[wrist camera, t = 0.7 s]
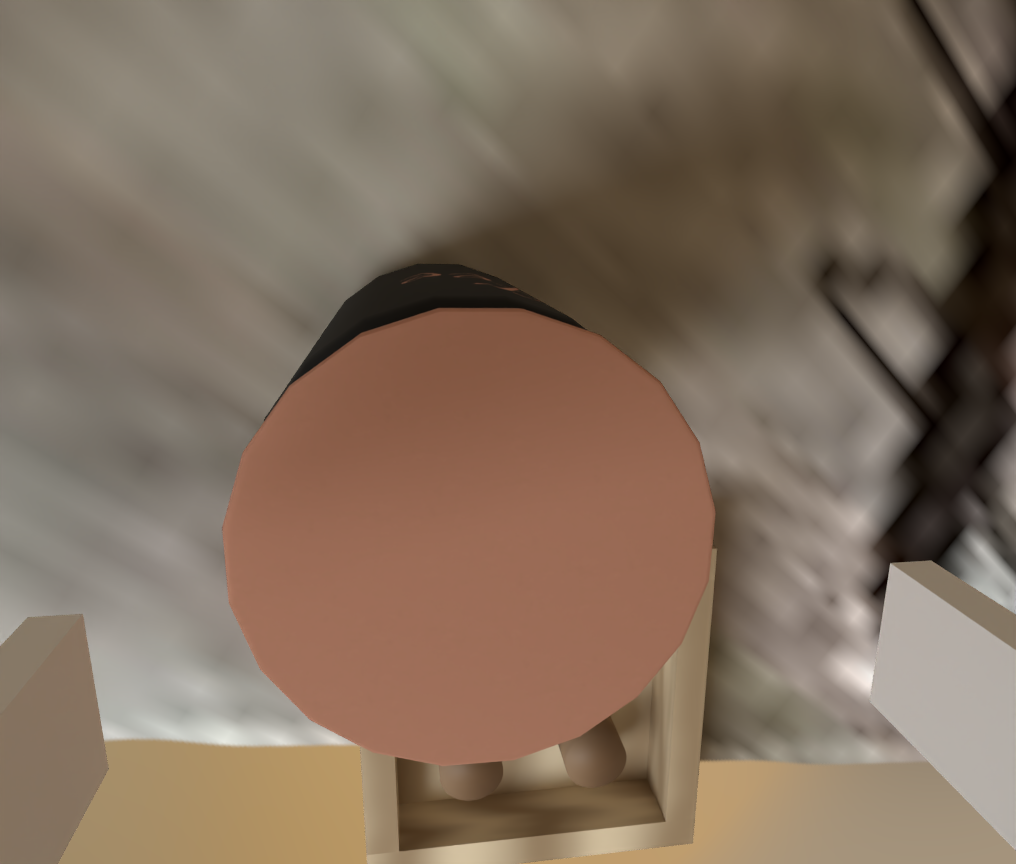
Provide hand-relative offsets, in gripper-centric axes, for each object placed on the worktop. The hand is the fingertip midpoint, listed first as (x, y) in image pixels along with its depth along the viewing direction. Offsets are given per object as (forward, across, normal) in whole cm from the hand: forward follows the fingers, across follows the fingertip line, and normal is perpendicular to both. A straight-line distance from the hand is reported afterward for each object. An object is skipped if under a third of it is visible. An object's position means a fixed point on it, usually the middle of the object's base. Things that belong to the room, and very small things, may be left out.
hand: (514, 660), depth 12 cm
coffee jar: (+22, 0, 0) cm, 22 cm away
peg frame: (+22, +4, -15) cm, 27 cm away
